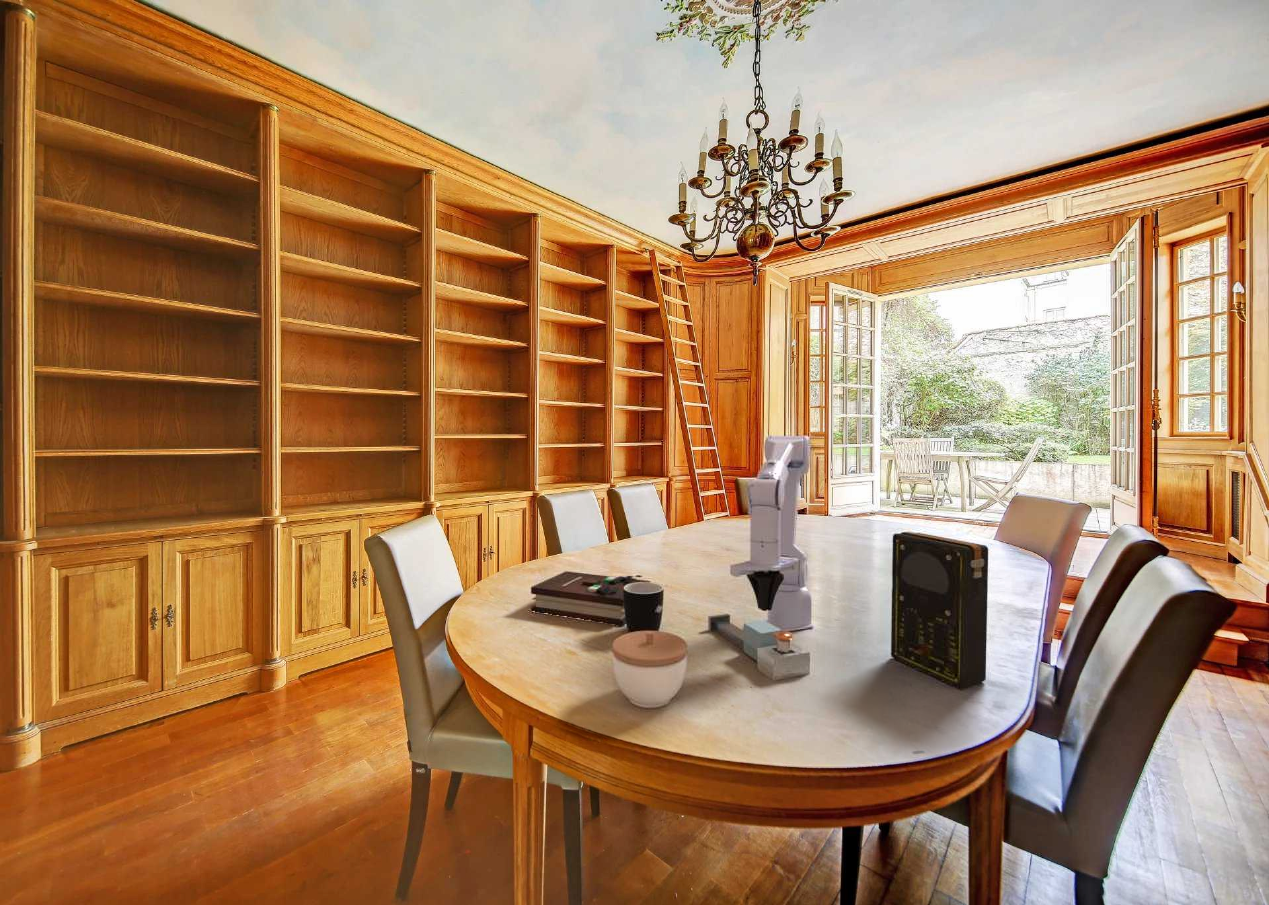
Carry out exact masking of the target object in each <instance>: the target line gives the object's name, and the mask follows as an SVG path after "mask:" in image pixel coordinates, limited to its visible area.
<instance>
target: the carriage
mask: <svg viewBox="0 0 1269 905" xmlns="http://www.w3.org/2000/svg"><path fill="white" fill-rule="evenodd" d="M743 631H744V650H743V652H744V653H745V654H746V655H748V656H749V657H750V658H752V659H754V660H755V661H757V648H763V647H768V646H774V645H777V638H775V632H776V631H782V630H781V629H779V628H777V627H775V626H774V625H772V624H770V623H768V622H766V621H765V620H762V621H760V620H756V621H755V620H754V621H748V622H743Z"/></svg>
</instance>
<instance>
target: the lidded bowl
mask: <svg viewBox="0 0 1269 905" xmlns="http://www.w3.org/2000/svg"><path fill="white" fill-rule="evenodd" d="M611 647H612V648H611V649H612V650H611V651H612V665H613V673H614V676H615V681H616V683H617V686H618V687H619V689H620V690H621V692H622V693H623V695H625V696H626V697H627V699H628V700H629V702H630V703H631V704H632V705H634V706H637V707H640V708H645V709H657V708H662V707H664V706H665V705H668V704H669V703H670V702H671V700H672V699H673V697H675V696H676V694H677V693H679V691H680V689H681V688H682V685H683V683H684V680H685V676H686V671H687V660H688V658H687V655H688V652H689V651H688V644H687V642H686V641H685V640H684V639H683V638H682V637H681V636H678V635H677V634H673V633H670V632H666V631H661V630H659V631H636V632H631V633H629V632H627V633H624V634H622V635H620V636H618V637H616V638H615V639H614V640H613V642H612V645H611Z"/></svg>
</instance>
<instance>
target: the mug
mask: <svg viewBox="0 0 1269 905" xmlns="http://www.w3.org/2000/svg"><path fill="white" fill-rule="evenodd" d="M623 598H624V611H625V619H626V628H627V631H628V633H631V632H636V631H660V628H661V623H662V618H663V617H662V616H663V611H664V587H663V586H662V585H661V584H658V583H656V582H650V583H649V582H638V583H631V584H628V585H626V586H624V589H623Z"/></svg>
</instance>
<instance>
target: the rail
mask: <svg viewBox="0 0 1269 905" xmlns="http://www.w3.org/2000/svg"><path fill="white" fill-rule="evenodd" d="M707 617H708V625H707V626H708V629H707V630H708V631H709V632H713V631H714V632H716V633H717V634H719V635H720V636H722V637H723V638H725V639H726V640H728V641H730V643H733V644H734V645H735V646H737V647H738V648H739V649H741V650H742V651H744V629H742V628H740V627H739V626H736V625H735V624H733V623H732V622H731V615H730V614H729V613H723V614H718V615H710V616H707Z"/></svg>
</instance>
